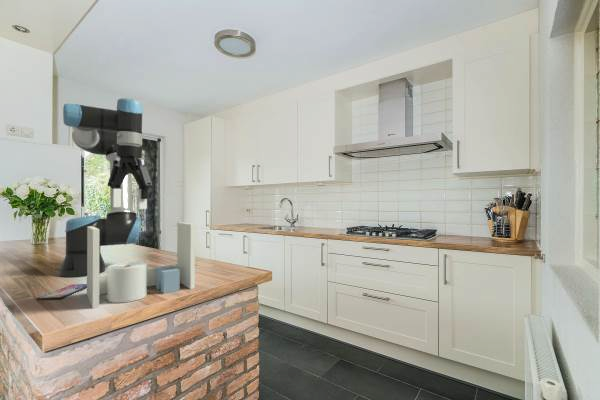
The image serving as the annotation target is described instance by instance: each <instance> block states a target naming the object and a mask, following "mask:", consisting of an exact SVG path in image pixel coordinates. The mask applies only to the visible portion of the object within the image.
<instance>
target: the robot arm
mask: <svg viewBox="0 0 600 400" xmlns="http://www.w3.org/2000/svg"><path fill="white" fill-rule="evenodd" d="M62 108H63V109H62V114H63V115H62V116H63V117H62V120H63V124H64V125H65V126H67V127H70V128H71V127H72V128H73V131H72V132H71V133H72V134H71V137H72V141H73V142H74V144H75V145H76V146H77V147H78V148H79V149H81V150H83V151H85V152H87V153H91V154H93V155H94V154H95V155H99V156H100V155H101V156H102V155H103V156H105V159H106V161H108V162H109V178H108V182H107V187H109V188H110V189H109V195H110V197H109V199H110V200H109V201H110V211H109V212H107V213H106V218H102V217H101V215H99V214H98V215H97V214H96V215H88V216H80V217H75V218H74V217H73V218H70V219H68V220H67V221H66V223H65V230H64V232H65V256H64V259H63V262H62V264H61V267H60V270H59V276H60V277H66V278H68V277H69V278H73V277H74V278H75V277H76V278H77V277H87V226H94V227H96V228H98V229H99V274H100V273H103V272H105V271H106V264H105V261H104V258H103V256H102V252H101V247H104V246H105V247H106V246H115V245H116V246H117V245H118V246H120V245H121V246H122V245H125V246H126V245H131V244H135V243H137V242H138V240H139V237H140V231H141V225H142V224H141V223H142V221H141V217H137V214H138V213H137V212H135V210H133V207H134V206H133V205H134V204H133V179H134V180H135V182H136V183H137V186H138V188H137V210H147V209H148V193H149V192H148V191H149V189H150V188H153V182H152V180H151V176H150V173H149V171H148V167H147V160H146V159H142V157H143V148H142V146H143V132H142V131H143V113H144V112H143V104H142V102H140V101H139V100H138V99H132V98H126V97H121V98H119V99H118V100H117V102H116V109H115V110H114V109H109V108H101V107H95V106H90V105H83V104H78V103H65V104H63V107H62ZM132 177H133V179H132Z"/></svg>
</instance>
